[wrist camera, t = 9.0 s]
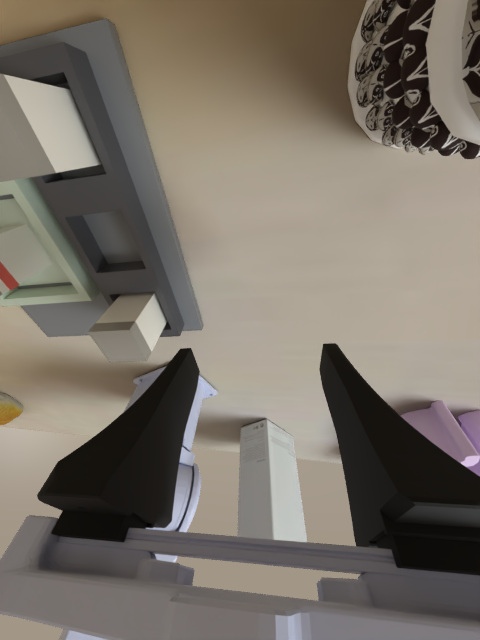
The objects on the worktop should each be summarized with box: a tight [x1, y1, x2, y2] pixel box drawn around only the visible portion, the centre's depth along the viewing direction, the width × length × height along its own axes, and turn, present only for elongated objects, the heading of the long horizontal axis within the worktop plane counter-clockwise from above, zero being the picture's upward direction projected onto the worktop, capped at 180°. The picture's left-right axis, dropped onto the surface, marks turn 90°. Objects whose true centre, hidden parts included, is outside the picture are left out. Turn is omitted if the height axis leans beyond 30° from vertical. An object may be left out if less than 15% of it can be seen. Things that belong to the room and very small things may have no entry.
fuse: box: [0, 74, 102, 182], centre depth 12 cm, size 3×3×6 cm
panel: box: [0, 18, 203, 337], centre depth 19 cm, size 19×21×3 cm
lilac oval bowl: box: [400, 401, 480, 476], centre depth 35 cm, size 20×12×7 cm, turn 167°
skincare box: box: [238, 419, 307, 542], centre depth 34 cm, size 8×6×15 cm
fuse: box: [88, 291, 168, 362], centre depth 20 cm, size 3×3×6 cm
